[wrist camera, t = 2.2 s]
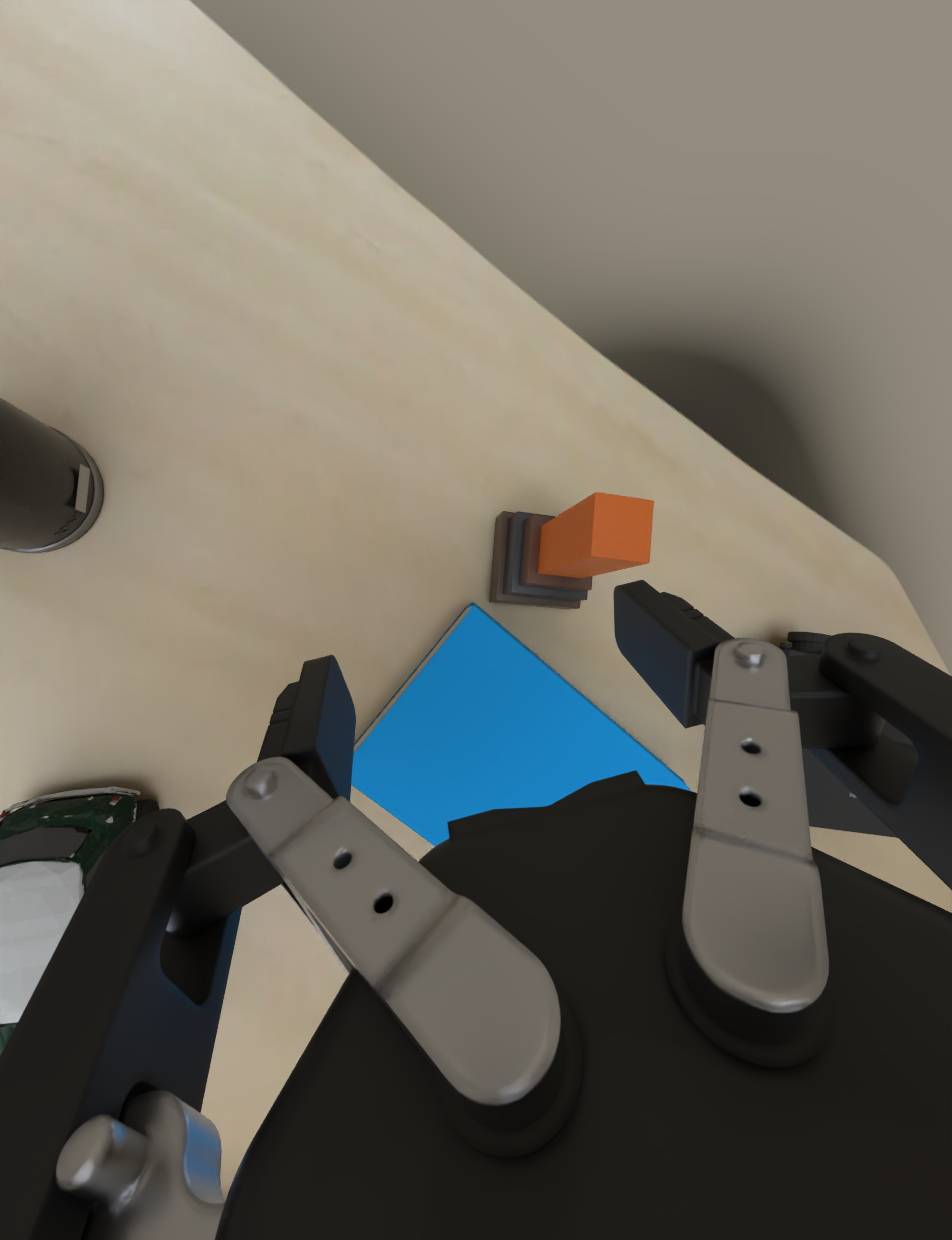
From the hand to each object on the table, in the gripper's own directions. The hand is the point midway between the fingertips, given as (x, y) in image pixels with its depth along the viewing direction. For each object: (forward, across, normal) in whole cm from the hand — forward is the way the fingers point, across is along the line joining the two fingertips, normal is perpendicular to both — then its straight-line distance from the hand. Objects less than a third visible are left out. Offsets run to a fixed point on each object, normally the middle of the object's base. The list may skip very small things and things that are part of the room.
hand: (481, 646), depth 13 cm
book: (+18, -2, +25) cm, 31 cm away
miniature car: (+14, +31, +23) cm, 41 cm away
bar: (+20, -9, +7) cm, 23 cm away
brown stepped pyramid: (+27, -8, +10) cm, 30 cm away
